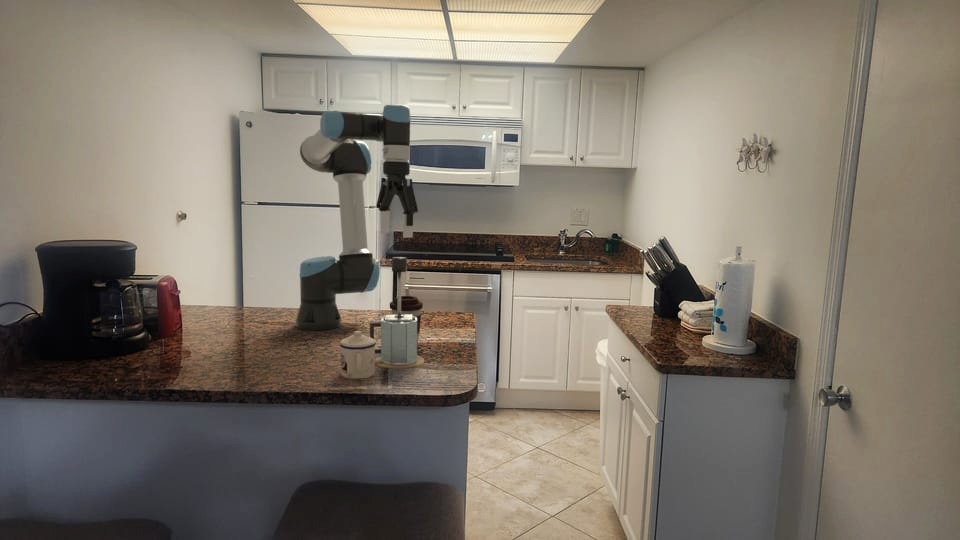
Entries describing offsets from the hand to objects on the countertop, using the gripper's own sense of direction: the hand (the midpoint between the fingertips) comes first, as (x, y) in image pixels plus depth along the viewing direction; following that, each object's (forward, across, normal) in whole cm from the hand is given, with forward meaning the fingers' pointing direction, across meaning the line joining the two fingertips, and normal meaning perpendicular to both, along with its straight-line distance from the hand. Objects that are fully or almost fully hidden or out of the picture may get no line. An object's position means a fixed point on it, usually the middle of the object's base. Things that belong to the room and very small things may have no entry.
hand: (396, 235), depth 176 cm
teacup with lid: (+34, +17, -20) cm, 43 cm away
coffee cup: (+35, -2, +5) cm, 35 cm away
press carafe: (+34, +11, -7) cm, 36 cm away
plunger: (+23, +12, -5) cm, 27 cm away
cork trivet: (+34, +12, -5) cm, 37 cm away
